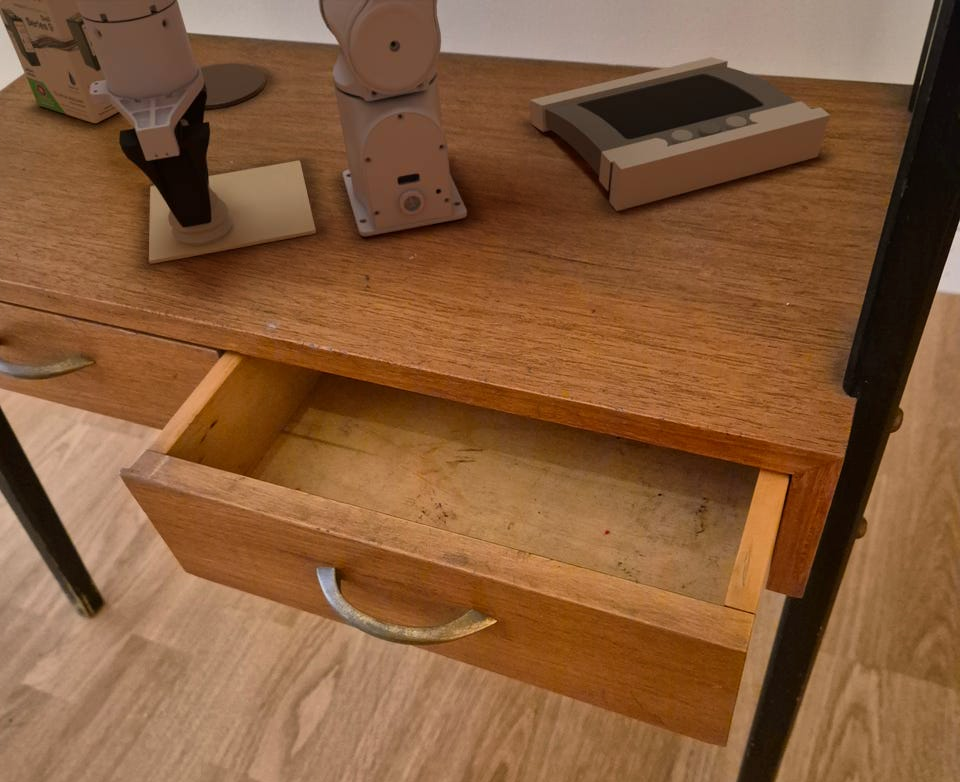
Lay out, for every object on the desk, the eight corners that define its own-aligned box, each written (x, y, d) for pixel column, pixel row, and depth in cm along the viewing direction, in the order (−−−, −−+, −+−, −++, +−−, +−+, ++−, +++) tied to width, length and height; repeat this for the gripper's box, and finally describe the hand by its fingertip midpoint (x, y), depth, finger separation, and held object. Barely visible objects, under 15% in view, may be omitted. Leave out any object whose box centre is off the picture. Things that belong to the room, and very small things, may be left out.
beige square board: (316, 233, 64) (315, 229, 64) (150, 264, 62) (148, 260, 62) (300, 163, 71) (299, 160, 71) (151, 189, 70) (150, 186, 70)
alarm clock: (621, 169, 61) (528, 64, 70) (615, 225, 65) (527, 119, 74) (830, 114, 64) (714, 22, 74) (813, 171, 68) (704, 76, 78)
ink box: (35, 106, 82) (-26, -33, 73) (77, 85, 84) (23, -52, 76) (95, 125, 78) (39, -19, 70) (138, 103, 81) (88, -39, 72)
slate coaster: (269, 100, 80) (268, 95, 79) (169, 116, 79) (167, 112, 78) (261, 61, 86) (260, 57, 85) (168, 76, 85) (167, 72, 84)
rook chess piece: (220, 251, 63) (186, 144, 57) (163, 247, 63) (123, 141, 57) (243, 217, 65) (213, 112, 60) (188, 214, 66) (153, 110, 60)
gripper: (69, -25, 57) (141, 169, 67) (50, 61, 48) (137, 273, 58) (178, -40, 58) (233, 154, 68) (181, 41, 48) (244, 253, 58)
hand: (196, 207), depth 63 cm, fingers open, 4 cm apart
